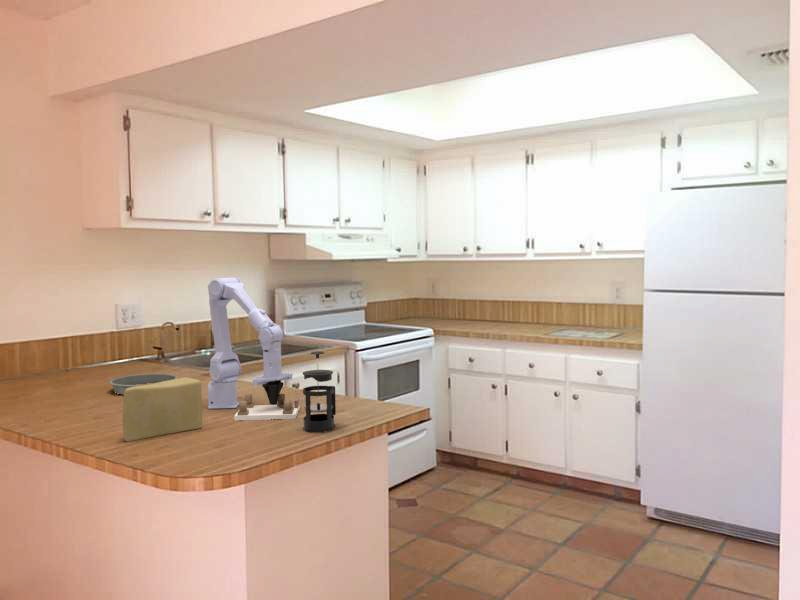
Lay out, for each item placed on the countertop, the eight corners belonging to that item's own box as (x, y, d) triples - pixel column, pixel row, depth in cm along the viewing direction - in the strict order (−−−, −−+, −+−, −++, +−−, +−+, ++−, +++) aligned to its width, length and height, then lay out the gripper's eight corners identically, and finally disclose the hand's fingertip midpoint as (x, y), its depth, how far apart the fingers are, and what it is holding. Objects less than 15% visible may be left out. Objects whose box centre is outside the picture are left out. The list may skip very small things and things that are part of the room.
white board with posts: (234, 420, 206) (233, 403, 206) (242, 410, 220) (241, 393, 219) (295, 419, 207) (295, 401, 207) (299, 408, 221) (299, 392, 220)
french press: (317, 435, 188) (315, 355, 187) (294, 430, 194) (292, 352, 193) (345, 426, 198) (344, 350, 196) (322, 421, 203) (321, 347, 202)
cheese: (132, 445, 181) (130, 391, 180) (116, 439, 187) (114, 386, 186) (204, 428, 197) (202, 379, 196) (186, 423, 204) (185, 375, 203)
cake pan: (164, 397, 243) (163, 384, 243) (98, 397, 244) (97, 385, 243) (186, 383, 268) (186, 372, 267) (126, 384, 268) (126, 373, 268)
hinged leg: (294, 409, 212) (294, 397, 212) (287, 411, 211) (287, 398, 211) (283, 405, 219) (282, 393, 219) (276, 406, 218) (276, 394, 218)
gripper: (261, 367, 205) (262, 410, 206) (297, 361, 216) (298, 402, 217) (247, 364, 210) (249, 406, 211) (284, 359, 221) (285, 399, 222)
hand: (273, 404), depth 214 cm, fingers closed
